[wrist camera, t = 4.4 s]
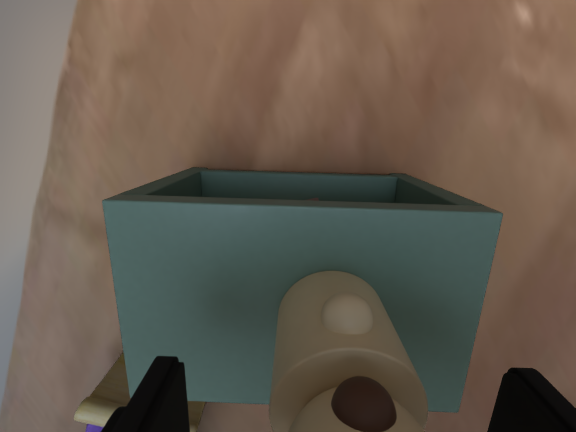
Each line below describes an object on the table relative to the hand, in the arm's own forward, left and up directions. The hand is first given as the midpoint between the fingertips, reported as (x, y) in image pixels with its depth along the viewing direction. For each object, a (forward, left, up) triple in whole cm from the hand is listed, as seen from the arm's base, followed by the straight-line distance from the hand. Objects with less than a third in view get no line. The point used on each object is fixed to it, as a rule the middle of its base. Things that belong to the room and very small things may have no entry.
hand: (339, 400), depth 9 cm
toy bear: (0, 0, -5) cm, 5 cm away
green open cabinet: (+1, 0, -16) cm, 16 cm away
